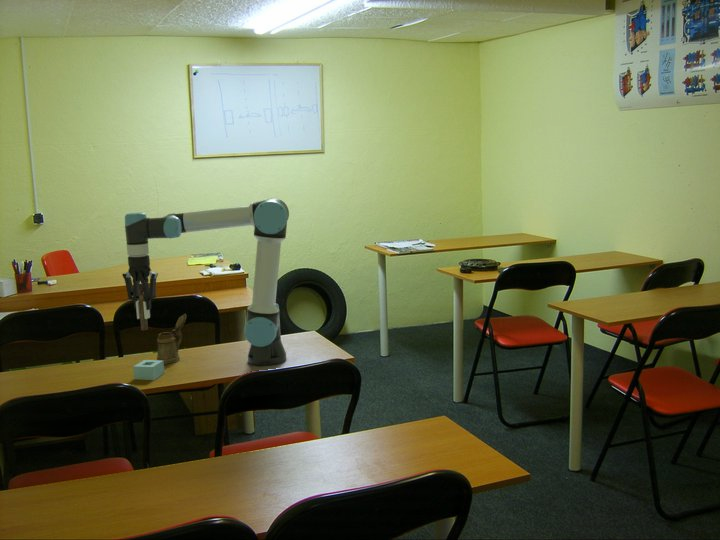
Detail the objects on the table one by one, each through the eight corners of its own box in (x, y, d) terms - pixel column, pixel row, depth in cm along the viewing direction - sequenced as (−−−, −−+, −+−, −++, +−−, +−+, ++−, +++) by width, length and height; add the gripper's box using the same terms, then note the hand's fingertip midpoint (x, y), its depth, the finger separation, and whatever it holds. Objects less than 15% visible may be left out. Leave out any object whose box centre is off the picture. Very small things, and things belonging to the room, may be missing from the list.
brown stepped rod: (149, 328, 259) (145, 283, 256) (146, 330, 257) (142, 284, 254) (143, 328, 260) (139, 282, 257) (140, 330, 257) (136, 284, 254)
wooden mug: (193, 358, 282) (190, 315, 279) (160, 365, 274) (157, 321, 271) (185, 353, 289) (182, 311, 286) (153, 360, 282) (149, 317, 278)
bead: (164, 373, 264) (163, 360, 263) (154, 380, 257) (152, 367, 256) (145, 372, 266) (144, 359, 265) (134, 379, 258) (133, 366, 257)
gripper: (162, 253, 255) (167, 316, 259) (124, 253, 259) (130, 315, 263) (152, 256, 248) (157, 321, 252) (113, 256, 251) (119, 320, 255)
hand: (143, 317), depth 257 cm, fingers closed on brown stepped rod, 2 cm apart
